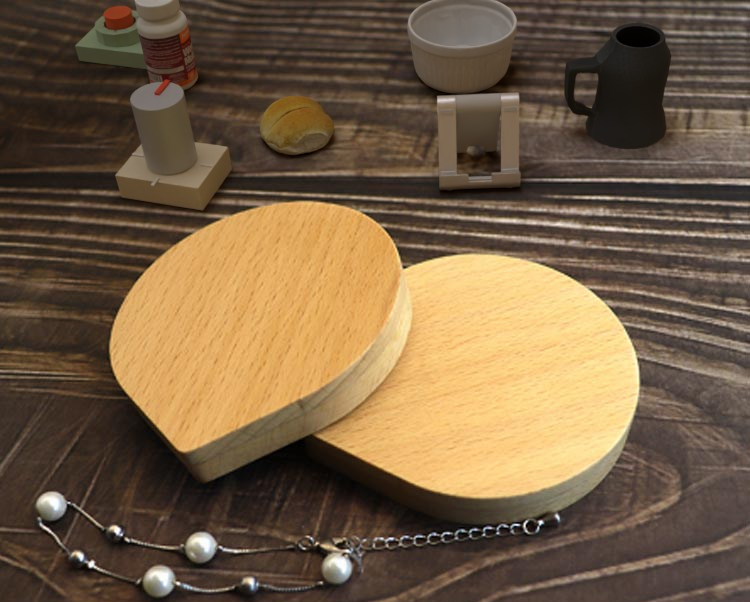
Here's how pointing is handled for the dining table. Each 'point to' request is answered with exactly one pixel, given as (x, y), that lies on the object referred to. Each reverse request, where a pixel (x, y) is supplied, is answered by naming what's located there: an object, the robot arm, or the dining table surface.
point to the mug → (625, 87)
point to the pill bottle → (166, 42)
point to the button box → (112, 45)
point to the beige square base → (176, 179)
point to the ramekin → (461, 43)
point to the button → (118, 17)
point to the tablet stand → (478, 137)
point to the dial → (164, 127)
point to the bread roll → (296, 125)
